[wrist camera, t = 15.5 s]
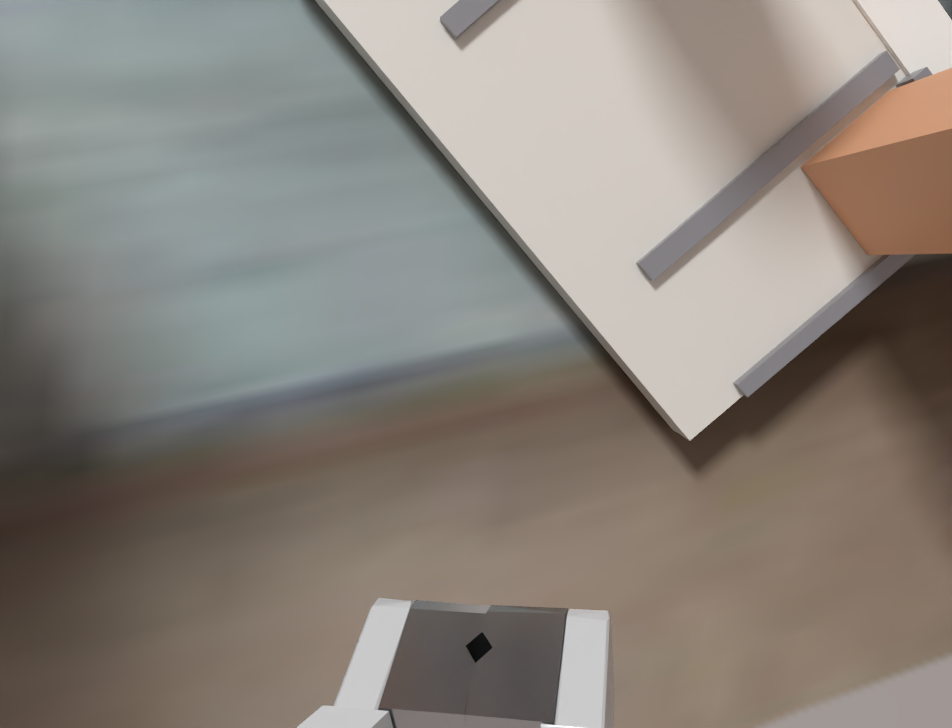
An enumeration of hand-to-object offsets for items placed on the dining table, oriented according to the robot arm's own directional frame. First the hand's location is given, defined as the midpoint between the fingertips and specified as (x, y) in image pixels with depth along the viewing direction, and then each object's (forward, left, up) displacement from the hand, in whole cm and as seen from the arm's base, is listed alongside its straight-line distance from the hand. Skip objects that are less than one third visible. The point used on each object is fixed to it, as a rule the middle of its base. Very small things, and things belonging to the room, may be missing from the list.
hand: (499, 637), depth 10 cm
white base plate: (-4, +14, -20) cm, 24 cm away
